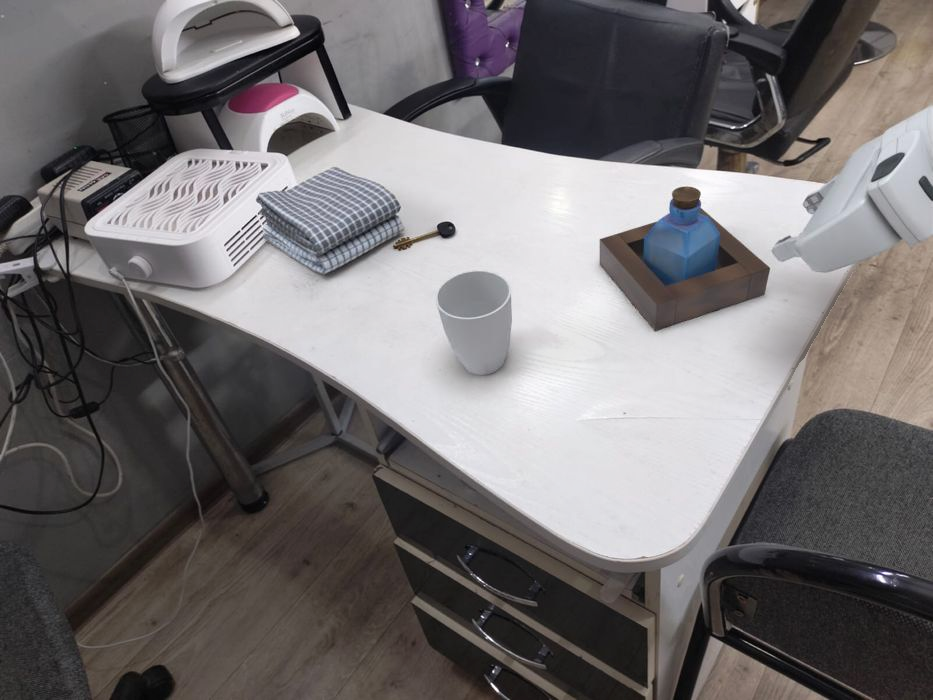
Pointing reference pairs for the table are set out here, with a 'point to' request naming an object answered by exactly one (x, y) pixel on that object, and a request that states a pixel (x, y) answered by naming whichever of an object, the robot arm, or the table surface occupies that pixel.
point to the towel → (330, 219)
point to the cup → (477, 318)
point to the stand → (690, 298)
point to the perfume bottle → (682, 240)
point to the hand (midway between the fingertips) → (793, 228)
